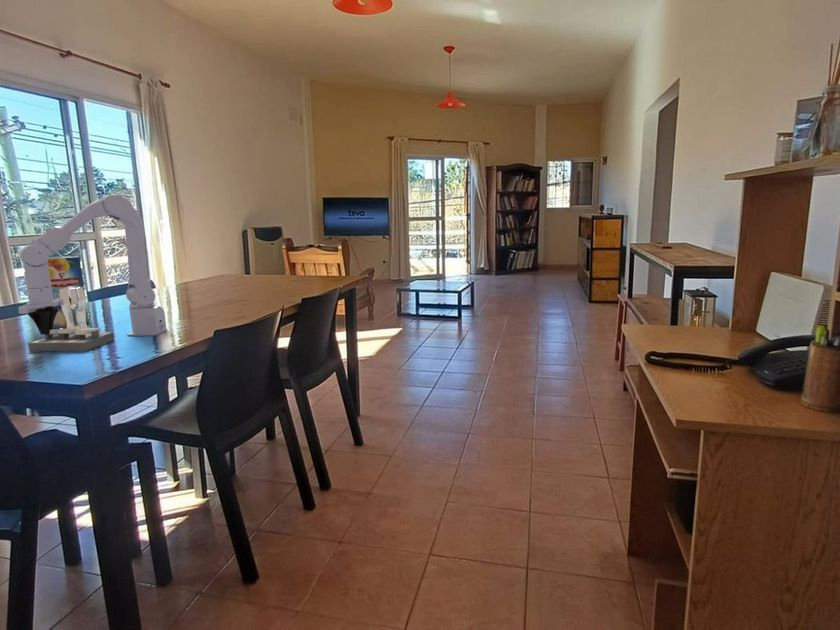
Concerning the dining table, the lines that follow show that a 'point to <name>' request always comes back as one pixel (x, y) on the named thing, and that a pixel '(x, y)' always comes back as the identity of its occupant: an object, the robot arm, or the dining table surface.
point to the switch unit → (71, 342)
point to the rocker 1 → (53, 331)
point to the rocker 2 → (85, 331)
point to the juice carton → (64, 282)
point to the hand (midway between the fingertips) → (46, 334)
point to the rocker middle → (67, 331)
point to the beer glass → (74, 307)
